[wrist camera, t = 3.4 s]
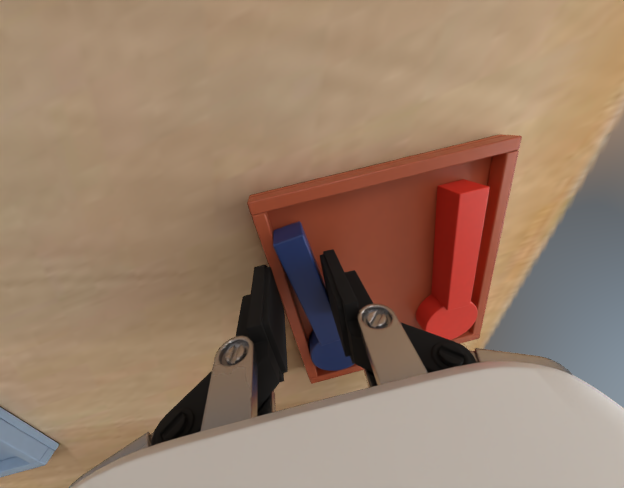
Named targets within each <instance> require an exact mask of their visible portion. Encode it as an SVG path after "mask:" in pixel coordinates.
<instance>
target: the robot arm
mask: <svg viewBox="0 0 624 488" xmlns="http://www.w3.org/2000/svg"><path fill="white" fill-rule="evenodd" d="M320 260H321V266H322V271H323V276H324V282H325V287H326V291H327V294H328V297H329V301H330V306H331V311H332V314H333V318H334V321H335V324H336V327H337V331H338V334H339V337H340V340H341V344H342V347H343V350H344V354H345V357H348V356H350V358H351V361H352V364H354V363H355V364H356V365H358V366H360V367H362V368H364V373H365V376H366V380H367V383H368V386H369V388H366V389H362V390H358V391H354V392H350V393H346V394H342V395H338V396H334V397H331V398H327V399H323V400H319V401H315V402H311V403H307V404H303V405H300V406H296V407H292V408H288V409H284V410H280V411H276V407H275V393H274V389H275V388H276V386H277V385H278V384H279V382H283V381H284V374H283V373H285V372H287V351H286V333H285V315H284V307H283V304H282V301H281V298H280V294H279V291H278V288H277V285H276V282H275V279H274V275H273V272H272V269H271V267H267V266H266V265H262V266H258V267H255V268H254V275H253V282H252V290H251V294H250V295H246V296H243V299H242V304H241V310H240V315H239V321H238V326H237V332H236V337H234V338H231V339H229V340H228V341H226V342H225V343H224V344H223V345H222V346H221V347H220V348H219V349H218V351H217V353H216V355H215V359H214V364H213V369H212V371H211V372H210V373H209V374H208V375H207V376H206V377H205V378H204V379H203V380H202V381H201V382H200V383H199V384H198V385H197V386H196V387H195V388H194V389H193V390H192V391H191V392H190V393H188V394H187V395H186V396H185V397H184V398H183V399H182V400H181V401H180V402H179V403H178V404H177V405H176V406H175V407H174V408H173V409H172V410H171V411H170V412H169V413H168V414H167V415H166V416H165V417H164V418H163V419H162V420H161V421H160V423H159V424H158V426H157V428H156V429H155V431H154V432H153V433H152V434H150V433H149V432H147V433H146V434H144V435H143V436H141V437H140V438H138V439H137V440H135V441H133V442H132V443H130V444H129V445H127V446H126V447H124V448H123V449H121V450H120V451H118V452H117V453H115V454H114V455H112V456H111V457H109V458H108V459H106V460H105V461H103V462H102V463H100V464H99V465H97V466H96V467H94V468H93V469H91V470H90V471H88V472H87V473H85V474H84V475H82V476H81V477H80V478H79V479H77V480H76V481H75V482H74V483H72V485H71V486H70V487H69V488H624V408H623V407H621V406H620V405H618V404H617V403H615V402H614V401H613V400H611V399H610V398H609V397H607V396H606V395H605V394H603V393H602V392H600V391H599V390H597V389H596V388H594V387H592V386H591V385H589V384H587V383H586V382H584V381H583V380H581V379H579V378H577V377H575V376H573V375H572V374H571V373H570V371H569V370H568V369H566V368H565V367H563V366H562V365H561V364H559V363H557V362H555V361H553V360H551V359H548V358H544V357H540V356H533V355H525V354H518V353H510V352H502V351H494V350H486V349H478V348H475V351H469V350H468V349H467V348H465V347H464V346H463V345H461V344H459V343H457V342H454V341H452V340H449V339H446V338H443V337H440V336H438V335H435V334H432V333H429V332H426V331H424V330H421V329H418V328H415V327H413V326H410V325H407V324H404V323H401V322H400V321H399V319H398V318H397V316H396V314H395V313H394V311H393V310H392V309H391V308H389V307H388V306H385V305H383V304H373V302H372V300H371V298H370V296H369V294H368V293H367V291H366V289H365V287H364V285H363V284H362V282H361V280H360V278H359V276H358V274H357V273H356V271H355V270H353V271H348V272H344V270H343V268H342V266H341V264H340V262H339V260H338V258H337V255H336V253H335V251H334V249H332V250H327V251H323V254H322V255H320Z"/></svg>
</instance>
